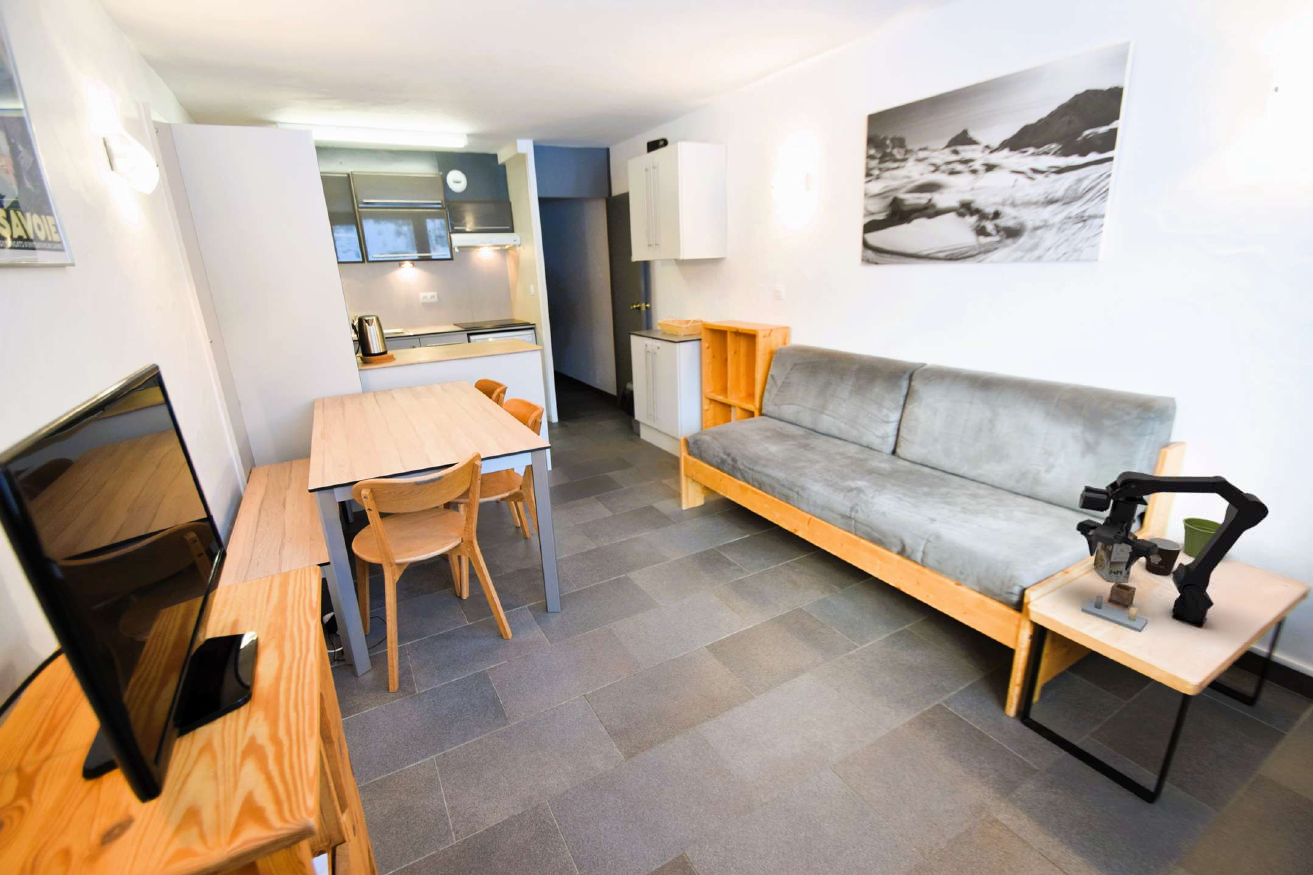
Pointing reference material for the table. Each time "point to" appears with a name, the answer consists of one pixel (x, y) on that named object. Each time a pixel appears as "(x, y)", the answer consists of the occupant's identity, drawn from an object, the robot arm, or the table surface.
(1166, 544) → the coffee mug
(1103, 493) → the robot arm
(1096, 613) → the pin board
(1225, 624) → the table surface
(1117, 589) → the sleeve
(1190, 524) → the plant pot
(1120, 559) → the coffee box
